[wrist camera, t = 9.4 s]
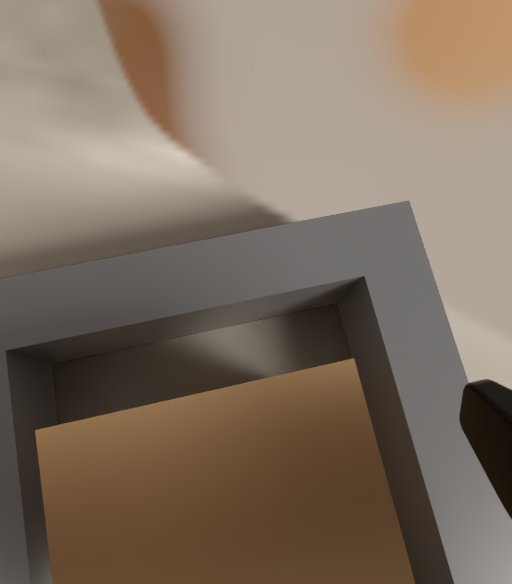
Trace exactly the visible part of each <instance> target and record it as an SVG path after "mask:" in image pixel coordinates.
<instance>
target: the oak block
mask: <svg viewBox="0 0 512 584" xmlns="http://www.w3.org/2000/svg"><path fill="white" fill-rule="evenodd" d="M35 435H36V443H37V452H38V461H39V469H40V478H41V487H42V495H43V504H44V513H45V521H46V530H47V539H48V548H49V556H50V565H51V574H52V582H53V584H415V580H414V576H413V573H412V569H411V565H410V562H409V558H408V554H407V551H406V547H405V543H404V540H403V536H402V532H401V529H400V525H399V521H398V518H397V514H396V510H395V506H394V503H393V499H392V495H391V492H390V488H389V484H388V481H387V477H386V473H385V470H384V466H383V462H382V459H381V455H380V451H379V448H378V444H377V440H376V437H375V433H374V429H373V426H372V422H371V418H370V415H369V411H368V407H367V404H366V400H365V396H364V393H363V389H362V385H361V382H360V378H359V374H358V371H357V367H356V363H355V360H354V358H352V359H348V360H344V361H339V362H335V363H330V364H326V365H321V366H317V367H313V368H308V369H304V370H299V371H295V372H290V373H286V374H282V375H277V376H273V377H268V378H264V379H259V380H255V381H251V382H246V383H242V384H237V385H233V386H228V387H224V388H220V389H215V390H211V391H206V392H202V393H197V394H193V395H189V396H184V397H180V398H175V399H171V400H166V401H162V402H158V403H153V404H149V405H144V406H140V407H135V408H131V409H127V410H122V411H118V412H113V413H109V414H104V415H100V416H96V417H91V418H87V419H82V420H78V421H73V422H69V423H65V424H60V425H56V426H51V427H47V428H42V429H38V430H35Z"/></svg>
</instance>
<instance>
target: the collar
mask: <svg viewBox="0 0 512 584" xmlns="http://www.w3.org/2000/svg"><path fill="white" fill-rule="evenodd" d="M335 303H337V306H338V309H339V313H340V317H341V320H342V324H343V328H344V331H345V335H346V339H347V342H348V346H349V350H350V353H351V357H352V358H354V360H355V363H356V367H357V371H358V374H359V378H360V382H361V385H362V389H363V393H364V396H365V400H366V404H367V407H368V411H369V415H370V418H371V422H372V426H373V429H374V433H375V437H376V440H377V444H378V448H379V451H380V455H381V459H382V462H383V466H384V470H385V473H386V477H387V481H388V484H389V488H390V492H391V495H392V499H393V503H394V506H395V510H396V514H397V518H398V521H399V525H400V529H401V532H402V536H403V540H404V543H405V547H406V551H407V554H408V558H409V562H410V565H411V569H412V573H413V576H414V580H415V584H512V519H511V518H510V516H509V515H508V513H507V511H506V510H505V508H504V506H503V505H502V503H501V501H500V499H499V498H498V496H497V494H496V492H495V490H494V488H493V486H492V485H491V483H490V481H489V479H488V477H487V475H486V473H485V471H484V470H483V468H482V466H481V464H480V462H479V460H478V458H477V456H476V455H475V453H474V451H473V449H472V447H471V445H470V443H469V441H468V439H467V438H466V436H465V434H464V432H463V430H462V428H461V425H460V420H459V414H460V408H461V401H462V395H463V389H464V387H465V385H466V384H468V380H467V377H466V374H465V371H464V368H463V365H462V362H461V359H460V356H459V353H458V349H457V346H456V343H455V340H454V337H453V334H452V331H451V328H450V325H449V322H448V319H447V316H446V313H445V310H444V306H443V303H442V300H441V297H440V294H439V291H438V288H437V285H436V282H435V279H434V276H433V273H432V270H431V267H430V264H429V260H428V257H427V255H426V252H425V248H424V245H423V242H422V239H421V236H420V233H419V230H418V227H417V224H416V221H415V218H414V215H413V211H412V208H411V205H410V202H409V201H405V202H399V203H394V204H389V205H383V206H378V207H373V208H368V209H363V210H358V211H352V212H347V213H342V214H336V215H331V216H326V217H321V218H316V219H310V220H305V221H299V222H294V223H289V224H284V225H278V226H273V227H268V228H263V229H257V230H252V231H247V232H242V233H236V234H231V235H226V236H221V237H215V238H210V239H205V240H200V241H194V242H189V243H184V244H179V245H173V246H168V247H163V248H158V249H152V250H147V251H142V252H137V253H131V254H126V255H121V256H116V257H110V258H105V259H100V260H95V261H89V262H84V263H79V264H74V265H68V266H63V267H58V268H53V269H48V270H42V271H37V272H32V273H27V274H21V275H16V276H11V277H6V278H0V584H53V582H52V574H51V565H50V556H49V548H48V539H47V530H46V521H45V513H44V504H43V495H42V487H41V478H40V469H39V461H38V452H37V443H36V435H35V430H38V429H42V428H47V427H51V426H56V425H59V421H58V413H57V405H56V398H55V390H54V382H53V374H52V367H51V364H54V363H59V362H63V361H68V360H73V359H77V358H82V357H87V356H91V355H96V354H101V353H106V352H110V351H115V350H120V349H124V348H129V347H134V346H138V345H143V344H148V343H152V342H157V341H162V340H166V339H171V338H176V337H181V336H185V335H190V334H195V333H199V332H204V331H209V330H213V329H218V328H223V327H227V326H232V325H237V324H241V323H246V322H251V321H256V320H260V319H265V318H270V317H274V316H279V315H284V314H288V313H293V312H298V311H302V310H307V309H312V308H316V307H321V306H326V305H331V304H335Z"/></svg>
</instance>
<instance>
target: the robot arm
mask: <svg viewBox="0 0 512 584" xmlns="http://www.w3.org/2000/svg"><path fill="white" fill-rule="evenodd" d="M459 420H460V425H461V428H462V430H463V432H464V434H465V436H466V438H467V439H468V441H469V443H470V445H471V447H472V449H473V451H474V453H475V455H476V456H477V458H478V460H479V462H480V464H481V466H482V468H483V470H484V471H485V473H486V475H487V477H488V479H489V481H490V483H491V485H492V486H493V488H494V490H495V492H496V494H497V496H498V498H499V499H500V501H501V503H502V505H503V506H504V508H505V510H506V511H507V513H508V515H509V516H510V518H511V519H512V390H511V389H509V388H507V387H504V386H502V385H500V384H498V383H496V382H494V381H492V380H488V379H484V380H480V381H476V382H471V383H468V384H466V385H465V387H464V389H463V395H462V401H461V408H460V414H459Z"/></svg>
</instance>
